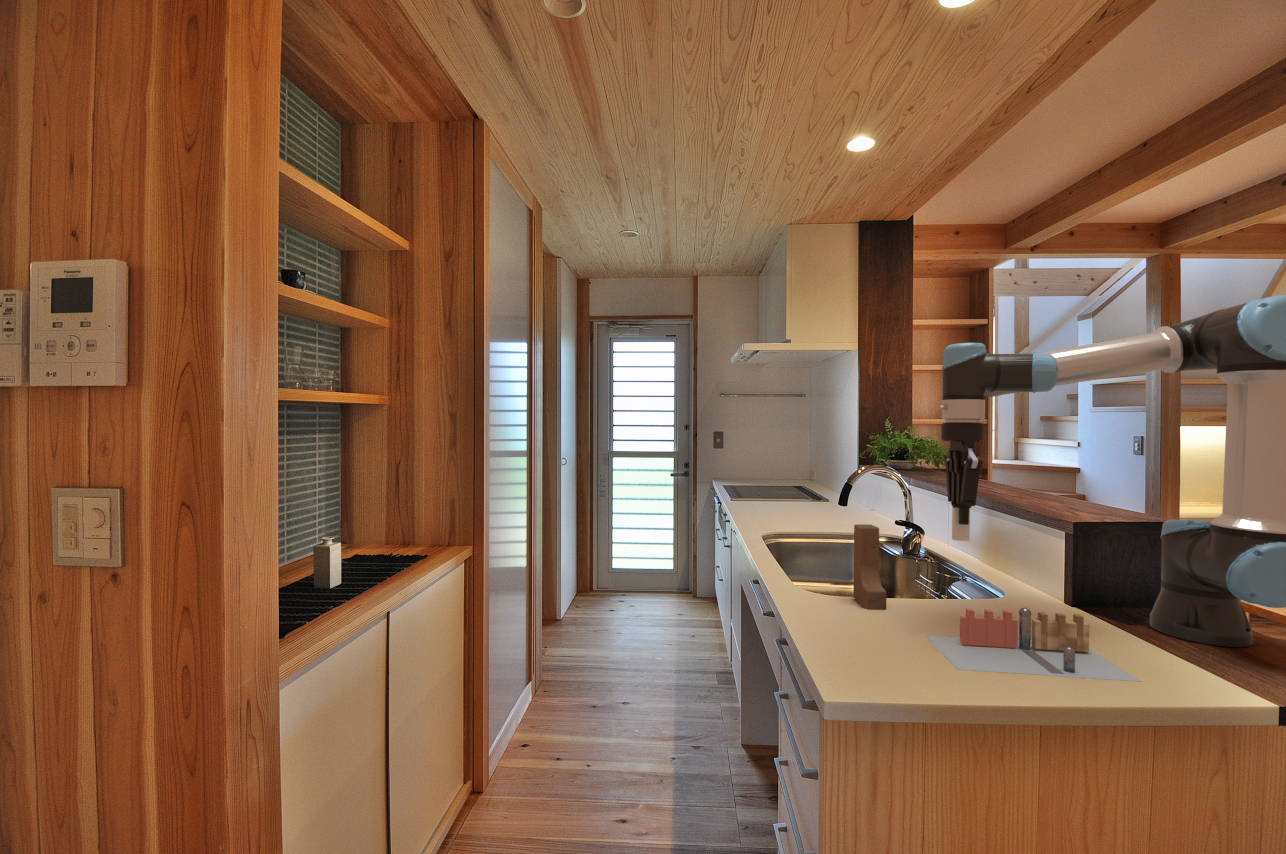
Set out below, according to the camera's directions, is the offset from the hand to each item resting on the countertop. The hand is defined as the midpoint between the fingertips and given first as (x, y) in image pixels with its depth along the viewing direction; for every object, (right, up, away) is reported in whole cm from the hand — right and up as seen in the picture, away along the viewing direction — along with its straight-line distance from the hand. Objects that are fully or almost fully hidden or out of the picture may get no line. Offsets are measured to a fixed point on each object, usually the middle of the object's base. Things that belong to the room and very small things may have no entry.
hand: (960, 539), depth 116 cm
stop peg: (+8, -19, -18) cm, 27 cm away
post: (+7, -19, -8) cm, 22 cm away
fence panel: (+1, -18, -7) cm, 20 cm away
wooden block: (-11, -19, +19) cm, 29 cm away
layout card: (+5, -19, -12) cm, 23 cm away
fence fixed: (+13, -19, -9) cm, 25 cm away
